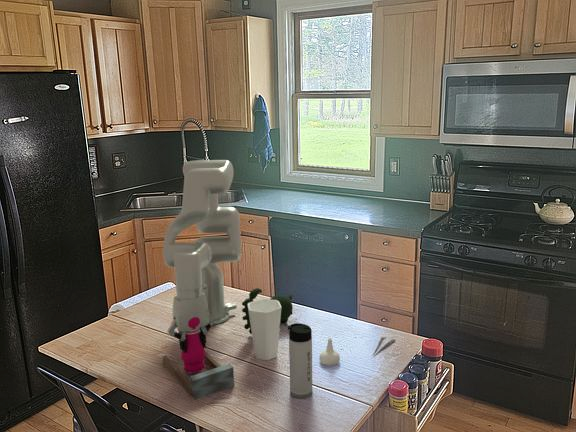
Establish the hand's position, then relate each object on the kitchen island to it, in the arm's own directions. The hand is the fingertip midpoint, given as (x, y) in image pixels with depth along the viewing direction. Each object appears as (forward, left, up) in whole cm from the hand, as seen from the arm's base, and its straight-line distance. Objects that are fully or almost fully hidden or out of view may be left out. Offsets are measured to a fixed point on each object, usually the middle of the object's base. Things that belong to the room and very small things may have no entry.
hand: (193, 348), depth 153 cm
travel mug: (-20, +27, -8) cm, 35 cm away
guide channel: (0, +1, -8) cm, 8 cm away
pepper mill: (0, 0, -7) cm, 7 cm away
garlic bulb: (-37, +19, -8) cm, 42 cm away
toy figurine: (-34, -12, -8) cm, 37 cm away
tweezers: (-55, +22, -9) cm, 60 cm away
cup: (-23, +3, -8) cm, 25 cm away
